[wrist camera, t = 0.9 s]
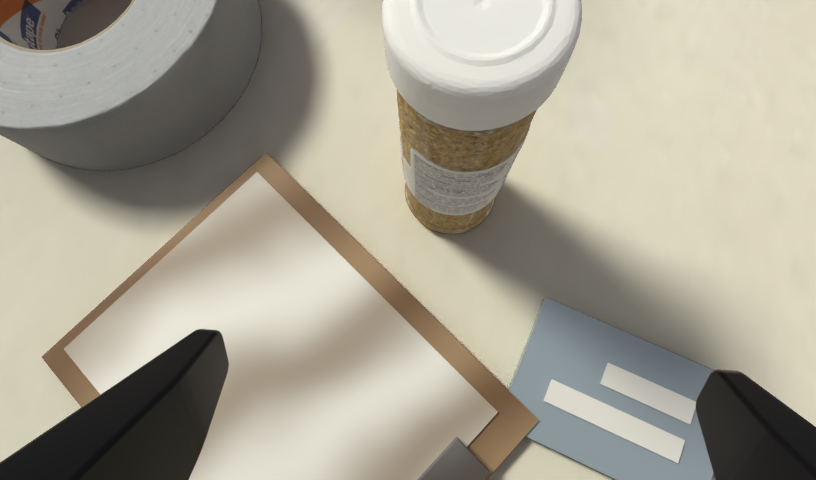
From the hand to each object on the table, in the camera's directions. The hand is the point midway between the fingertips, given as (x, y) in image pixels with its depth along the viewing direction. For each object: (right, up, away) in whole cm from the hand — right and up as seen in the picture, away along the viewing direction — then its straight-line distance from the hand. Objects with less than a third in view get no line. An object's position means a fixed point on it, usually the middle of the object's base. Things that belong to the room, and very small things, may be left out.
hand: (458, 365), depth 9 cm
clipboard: (-7, -4, +13) cm, 15 cm away
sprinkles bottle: (+1, +5, +15) cm, 16 cm away
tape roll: (-17, +13, +18) cm, 28 cm away
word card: (+8, -5, +12) cm, 16 cm away
